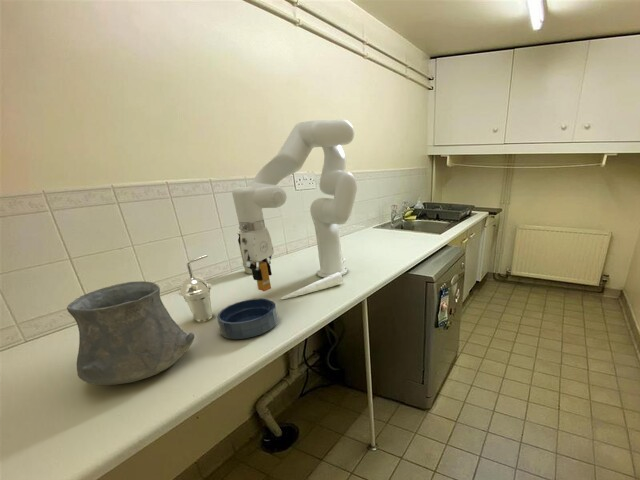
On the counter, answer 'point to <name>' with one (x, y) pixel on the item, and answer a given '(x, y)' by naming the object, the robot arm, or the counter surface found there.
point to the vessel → (125, 334)
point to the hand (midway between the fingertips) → (262, 277)
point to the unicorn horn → (318, 285)
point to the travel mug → (242, 255)
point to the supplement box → (264, 277)
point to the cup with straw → (197, 295)
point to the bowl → (247, 318)
